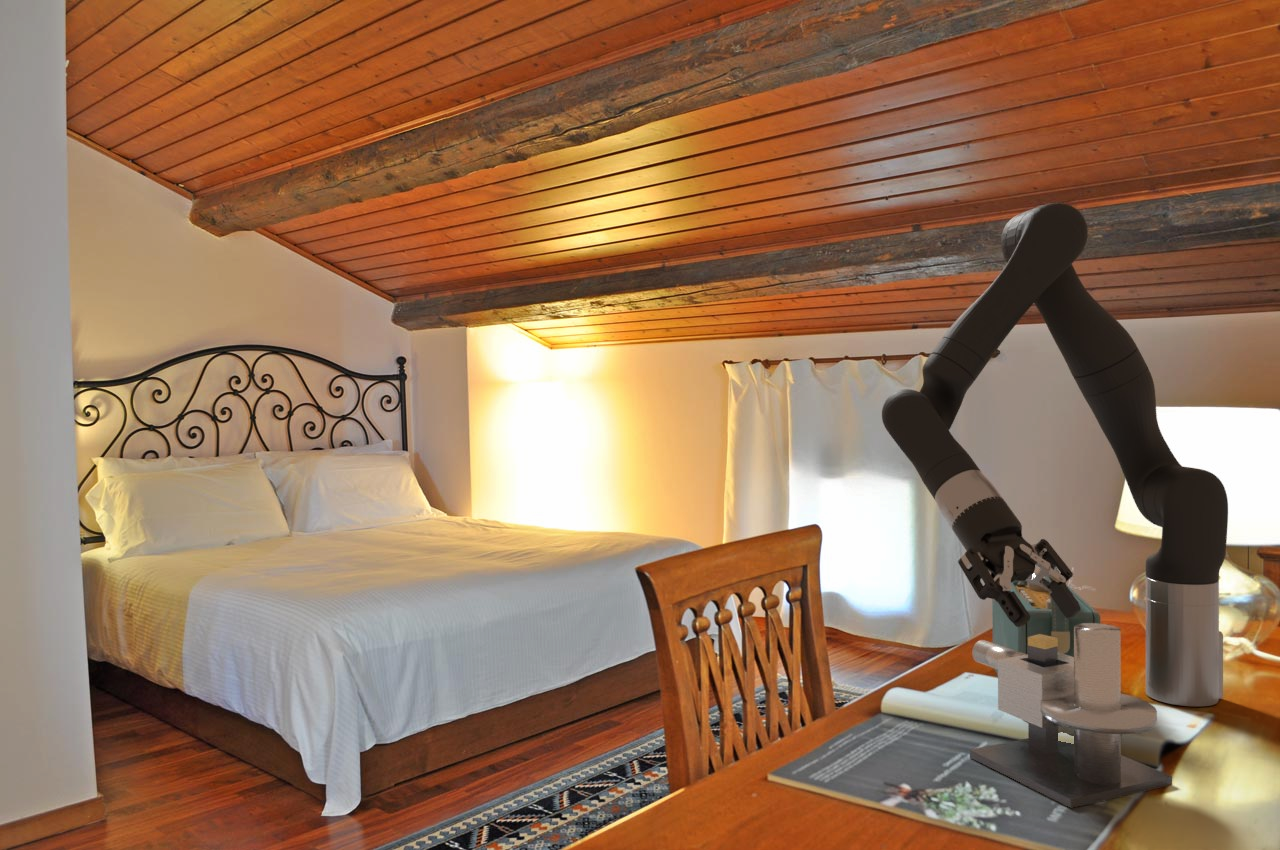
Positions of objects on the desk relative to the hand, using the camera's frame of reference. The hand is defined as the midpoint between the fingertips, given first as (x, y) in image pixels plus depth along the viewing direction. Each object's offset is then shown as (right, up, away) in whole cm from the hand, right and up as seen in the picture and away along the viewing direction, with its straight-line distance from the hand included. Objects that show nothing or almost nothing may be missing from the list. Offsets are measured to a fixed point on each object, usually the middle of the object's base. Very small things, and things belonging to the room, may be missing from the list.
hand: (1049, 618), depth 119 cm
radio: (+10, -17, +27) cm, 33 cm away
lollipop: (+29, -15, +63) cm, 71 cm away
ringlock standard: (+1, -18, 0) cm, 18 cm away
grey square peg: (0, -17, +2) cm, 17 cm away
